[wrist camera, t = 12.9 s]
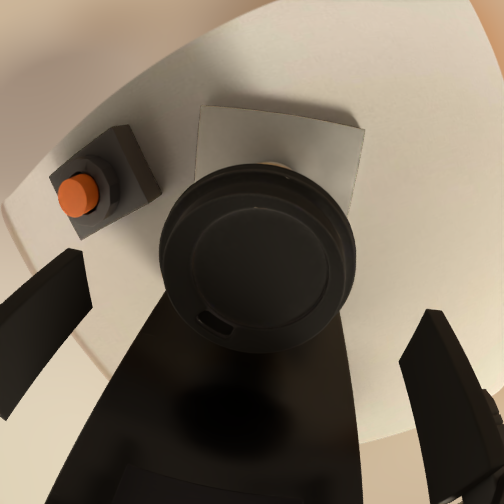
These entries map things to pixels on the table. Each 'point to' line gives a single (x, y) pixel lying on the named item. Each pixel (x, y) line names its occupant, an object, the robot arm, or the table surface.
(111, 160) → the control block
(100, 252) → the table surface
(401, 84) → the table surface
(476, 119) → the table surface
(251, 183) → the coffee cup
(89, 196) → the button
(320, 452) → the coffee maker
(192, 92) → the table surface
